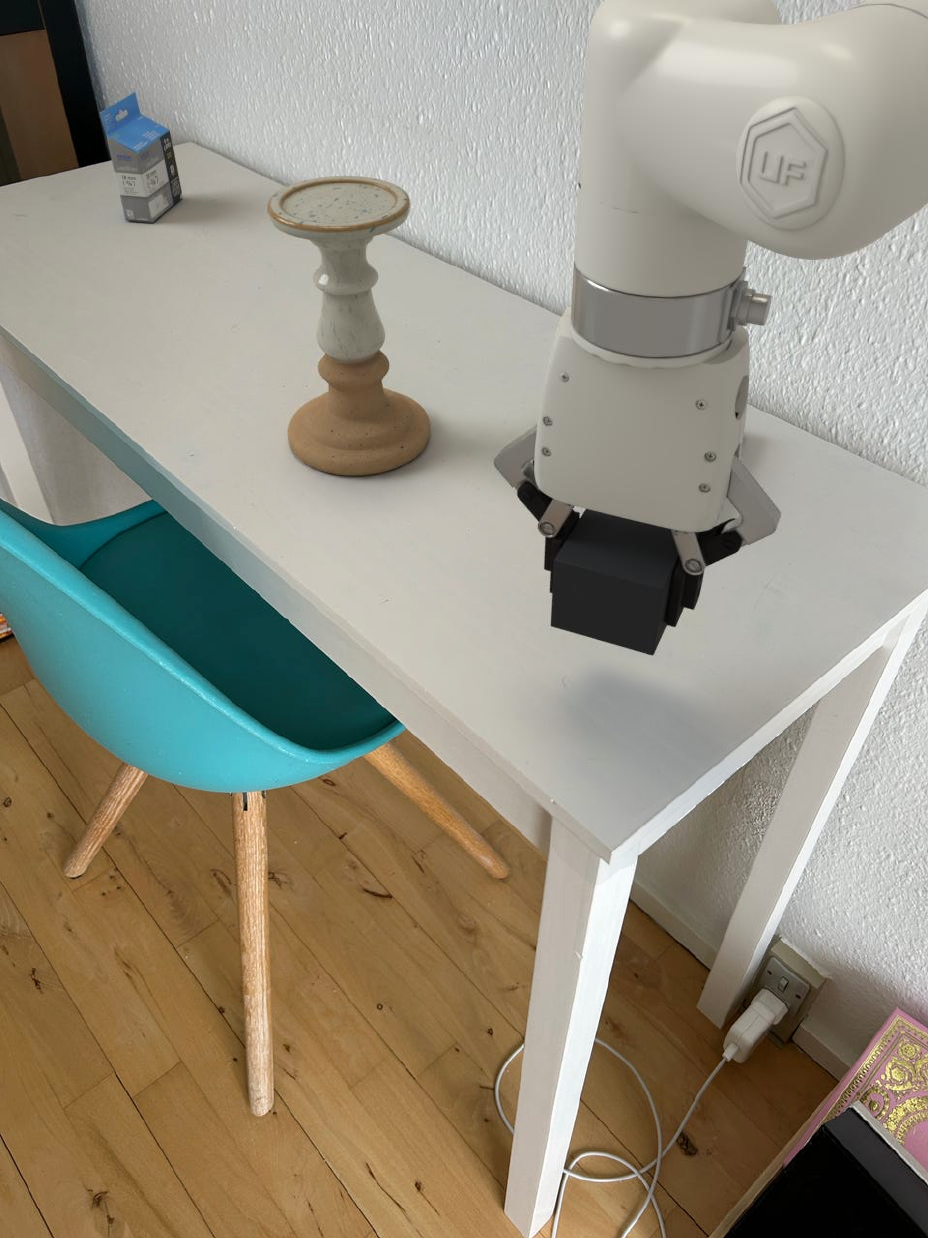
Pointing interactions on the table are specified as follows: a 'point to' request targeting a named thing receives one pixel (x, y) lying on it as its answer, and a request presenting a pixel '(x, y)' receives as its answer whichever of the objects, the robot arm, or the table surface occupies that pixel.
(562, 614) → the black cube block
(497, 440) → the table surface
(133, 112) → the ink cartridge box
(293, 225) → the candle holder
